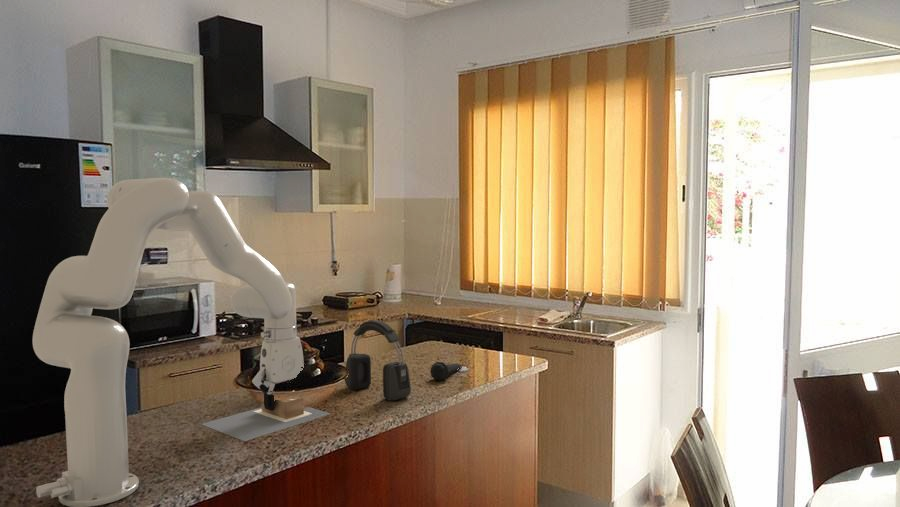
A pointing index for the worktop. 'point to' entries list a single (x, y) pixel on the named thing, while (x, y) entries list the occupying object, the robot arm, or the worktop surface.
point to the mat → (260, 423)
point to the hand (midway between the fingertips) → (282, 405)
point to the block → (286, 408)
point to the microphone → (443, 370)
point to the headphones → (393, 373)
